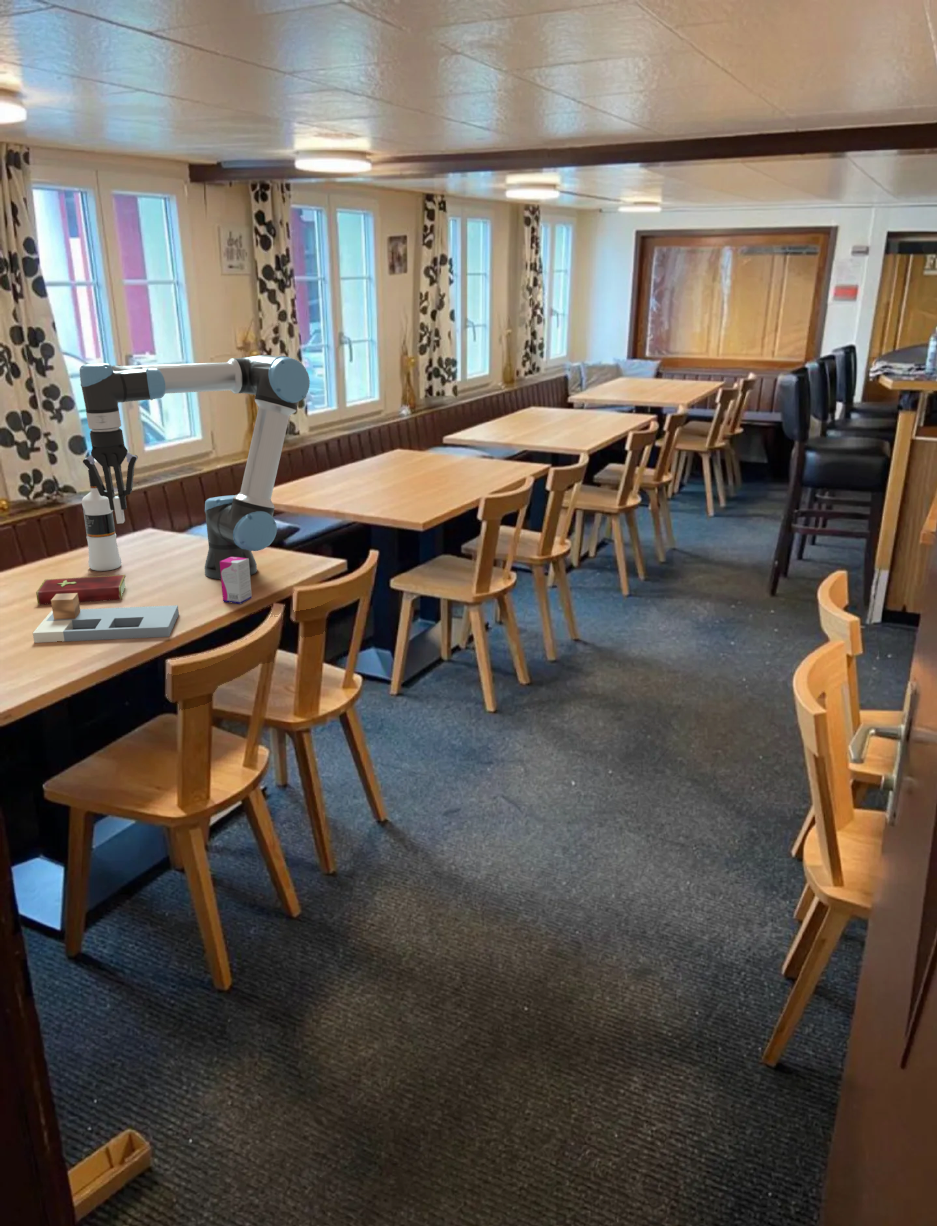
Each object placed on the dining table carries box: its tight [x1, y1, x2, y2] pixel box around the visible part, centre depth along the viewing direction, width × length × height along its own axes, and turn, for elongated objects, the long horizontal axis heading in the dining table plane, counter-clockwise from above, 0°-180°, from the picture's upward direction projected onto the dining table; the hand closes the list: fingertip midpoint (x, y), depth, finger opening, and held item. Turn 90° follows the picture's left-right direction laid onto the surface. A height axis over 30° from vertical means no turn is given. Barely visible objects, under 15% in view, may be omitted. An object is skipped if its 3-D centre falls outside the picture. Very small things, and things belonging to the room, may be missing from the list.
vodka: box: [81, 469, 123, 572], centre depth 260 cm, size 9×9×30 cm
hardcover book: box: [35, 574, 126, 606], centre depth 240 cm, size 12×21×4 cm, turn 104°
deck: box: [32, 604, 180, 644], centre depth 217 cm, size 31×16×2 cm, turn 99°
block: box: [50, 593, 81, 619], centre depth 217 cm, size 5×5×5 cm
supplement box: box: [220, 557, 253, 605], centre depth 236 cm, size 6×6×12 cm
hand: (121, 521), depth 223 cm, fingers closed
